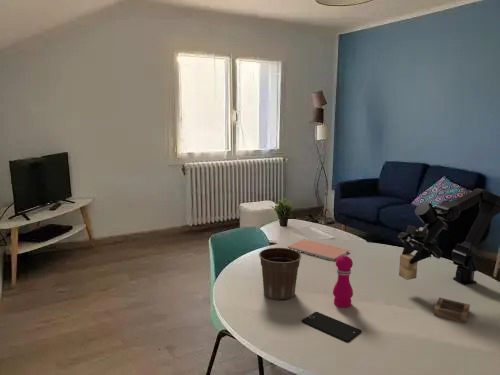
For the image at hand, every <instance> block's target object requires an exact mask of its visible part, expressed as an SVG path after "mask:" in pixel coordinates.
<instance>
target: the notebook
mask: <svg viewBox="0 0 500 375" xmlns="http://www.w3.org/2000/svg"><path fill="white" fill-rule="evenodd" d="M287 248H289V249H293V250H297V251H298V252H300V251H301V252H304V253H305V254H304V253H303V254H304V255H309V254H310V255H311V254H312V256H313V255H315V256H314V257H315V258H319V259H324V261H325V260H326V261H328V260H329V261H331V260H332V261H331V262H334V261H336V260H337V258H338V257H340V256H342V253H343V252H346V253H347V254H348V253H349V252H350V249H347V248H342V247H338V246H335V245H334V246H333V245H330V244H327V243H326V244H325V243H322V242H318V241H313V240H310V239H305V238H303V239H301V240H299V241H297V242H294V243H292V244H290V245H287ZM301 252H300V253H301ZM306 253H308V254H306ZM310 255H309V256H310ZM317 256H319V257H317ZM327 259H328V260H327Z"/></svg>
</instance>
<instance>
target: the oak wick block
mask: <svg viewBox="0 0 500 375" xmlns="http://www.w3.org/2000/svg"><path fill="white" fill-rule="evenodd" d="M414 255H415V254H414ZM414 255H413V254H412V253H411V254H404V255H402V254H400V255H399V269H398V276H399V277H400V278H403V279H404V280H407V281H408V280H409V281H410V280H414V279H417V273H418V262H419V261H418V262H416V263H413V264H410V263H409V262H410V261H411V259H412V258H413V256H414Z"/></svg>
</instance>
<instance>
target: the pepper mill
mask: <svg viewBox="0 0 500 375" xmlns="http://www.w3.org/2000/svg"><path fill="white" fill-rule="evenodd" d="M335 266H336V267H337V268H336V273H337V281H336V283H335V285H334V287H333V289H332V294H333V296H334V298H333V304H334V305H335V306H337V307H338V308H349V307H351V306H352V298H353V296H354V291H353V287H352V285H351V281H350V275H351V274H352V272H351V271H352V270H351V268H353V260H352V258H351V257H349V256H348V253H346V252H343V253H342V256H340V257H338V258H337V259H336V260H335Z"/></svg>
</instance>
